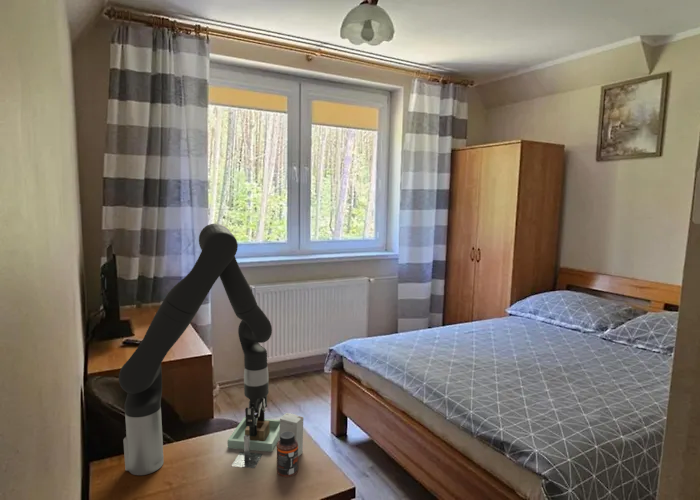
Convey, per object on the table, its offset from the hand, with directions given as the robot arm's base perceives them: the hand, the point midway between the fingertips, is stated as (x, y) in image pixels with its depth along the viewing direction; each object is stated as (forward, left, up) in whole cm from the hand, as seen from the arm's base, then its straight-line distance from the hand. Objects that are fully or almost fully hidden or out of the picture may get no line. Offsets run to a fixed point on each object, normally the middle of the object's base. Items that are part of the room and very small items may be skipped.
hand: (257, 429), depth 143 cm
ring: (0, 0, -3) cm, 3 cm away
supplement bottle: (+14, -15, -3) cm, 21 cm away
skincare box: (+13, -7, -3) cm, 15 cm away
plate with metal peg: (+1, -12, -3) cm, 12 cm away
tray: (0, 0, -3) cm, 3 cm away
